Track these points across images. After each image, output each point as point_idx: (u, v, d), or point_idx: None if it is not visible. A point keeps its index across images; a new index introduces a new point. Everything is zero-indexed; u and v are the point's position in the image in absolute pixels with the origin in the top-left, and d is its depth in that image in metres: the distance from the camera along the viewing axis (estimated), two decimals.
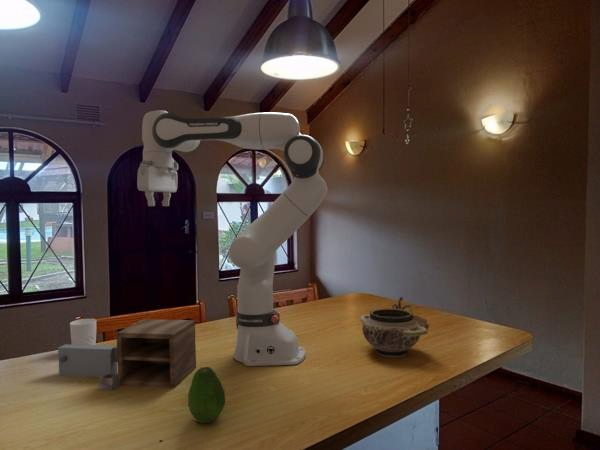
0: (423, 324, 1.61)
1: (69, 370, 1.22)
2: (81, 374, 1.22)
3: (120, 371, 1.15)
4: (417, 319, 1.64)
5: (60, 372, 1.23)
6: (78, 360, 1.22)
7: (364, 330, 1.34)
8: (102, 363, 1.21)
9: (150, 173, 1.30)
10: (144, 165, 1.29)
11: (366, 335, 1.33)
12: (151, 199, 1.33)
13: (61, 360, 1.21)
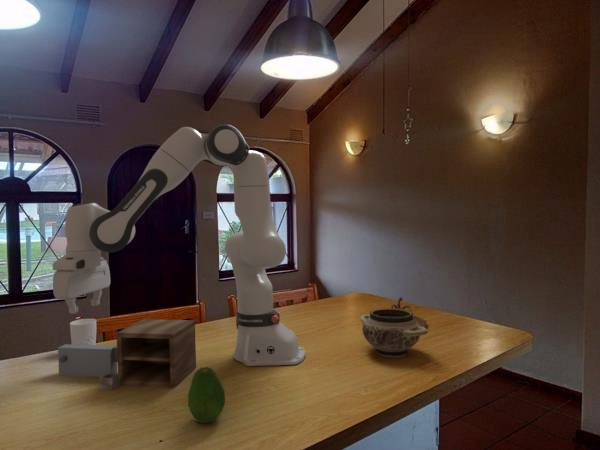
0: (422, 325, 1.60)
1: (69, 370, 1.22)
2: (81, 374, 1.22)
3: (120, 371, 1.15)
4: (416, 320, 1.64)
5: (60, 372, 1.23)
6: (78, 360, 1.22)
7: (364, 330, 1.34)
8: (102, 362, 1.21)
9: None
10: None
11: (366, 335, 1.33)
12: None
13: (61, 360, 1.21)
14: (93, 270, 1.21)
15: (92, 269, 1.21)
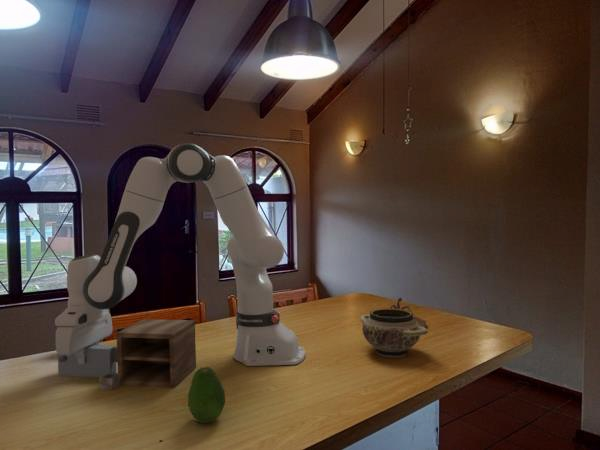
0: (422, 325, 1.60)
1: (68, 370, 1.22)
2: (80, 374, 1.22)
3: (120, 371, 1.15)
4: (416, 320, 1.63)
5: (59, 372, 1.23)
6: None
7: (364, 330, 1.34)
8: (102, 362, 1.21)
9: None
10: None
11: (366, 335, 1.33)
12: None
13: (60, 360, 1.21)
14: (95, 322, 1.22)
15: (94, 321, 1.21)
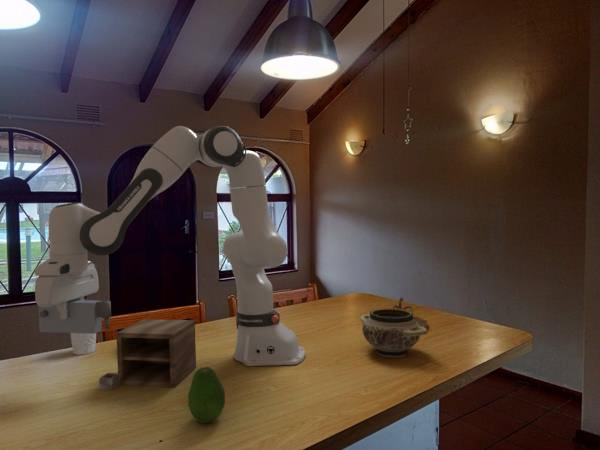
0: (424, 325, 1.60)
1: (50, 326, 1.14)
2: (63, 330, 1.13)
3: (120, 371, 1.15)
4: (418, 320, 1.63)
5: (41, 328, 1.14)
6: None
7: (364, 330, 1.34)
8: (86, 317, 1.12)
9: None
10: None
11: (366, 335, 1.33)
12: None
13: (41, 315, 1.13)
14: (79, 275, 1.13)
15: (78, 274, 1.13)
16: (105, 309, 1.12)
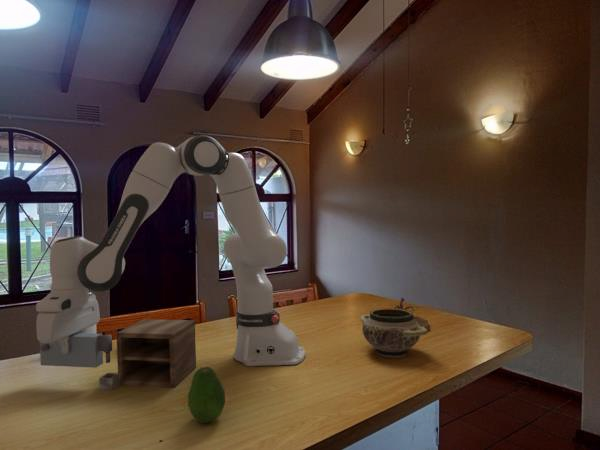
0: (426, 325, 1.60)
1: (51, 359, 1.14)
2: (64, 364, 1.14)
3: (120, 371, 1.15)
4: (419, 320, 1.63)
5: (42, 362, 1.15)
6: None
7: (364, 330, 1.34)
8: (87, 351, 1.13)
9: None
10: None
11: (366, 335, 1.33)
12: None
13: (43, 349, 1.13)
14: (80, 308, 1.14)
15: (79, 308, 1.13)
16: (106, 343, 1.12)
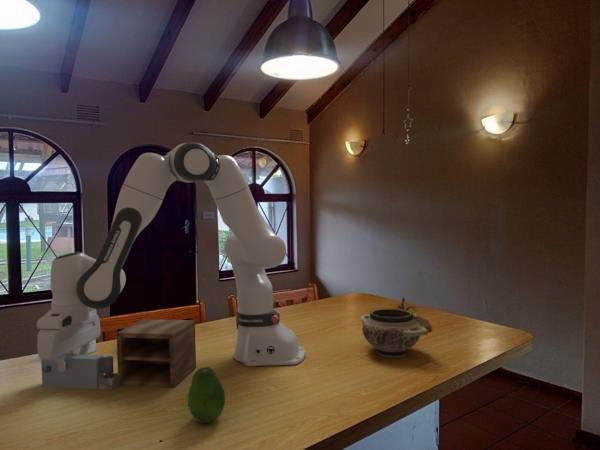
0: (428, 324, 1.60)
1: (53, 381, 1.15)
2: (65, 385, 1.14)
3: (120, 371, 1.15)
4: (420, 320, 1.63)
5: (43, 383, 1.15)
6: None
7: (364, 330, 1.34)
8: (88, 373, 1.13)
9: None
10: None
11: (366, 335, 1.33)
12: None
13: (44, 370, 1.13)
14: (81, 324, 1.14)
15: (80, 324, 1.14)
16: (107, 365, 1.12)
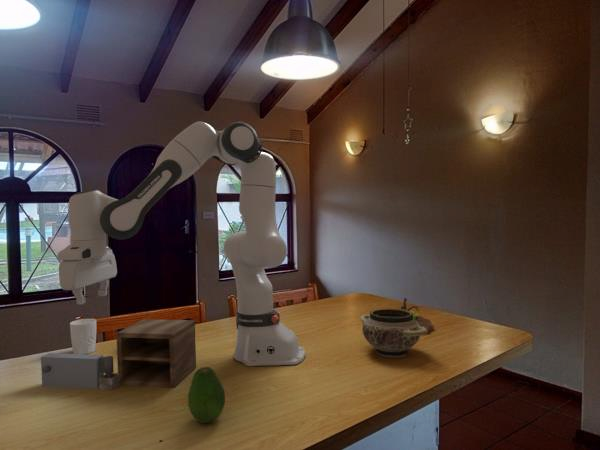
0: (430, 324, 1.61)
1: (53, 381, 1.15)
2: (65, 385, 1.14)
3: (120, 371, 1.15)
4: (423, 319, 1.64)
5: (43, 383, 1.15)
6: (63, 370, 1.14)
7: (364, 330, 1.34)
8: (88, 373, 1.13)
9: None
10: None
11: (366, 335, 1.33)
12: None
13: (44, 370, 1.14)
14: (99, 259, 1.18)
15: (98, 258, 1.17)
16: (107, 365, 1.13)
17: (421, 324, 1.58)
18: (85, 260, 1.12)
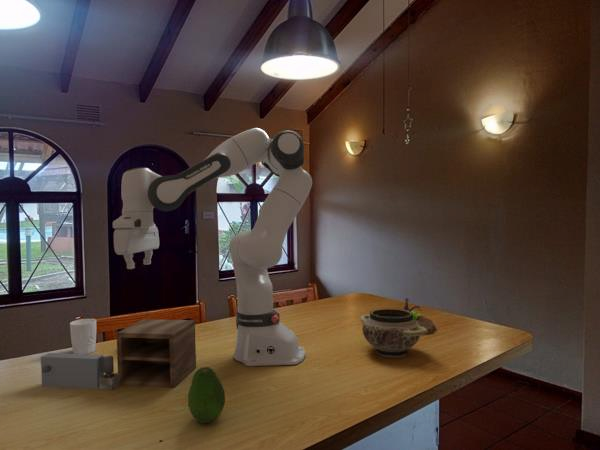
0: (433, 324, 1.61)
1: (53, 381, 1.15)
2: (65, 385, 1.14)
3: (120, 371, 1.15)
4: (424, 319, 1.64)
5: (43, 383, 1.15)
6: (62, 370, 1.14)
7: (364, 330, 1.34)
8: (88, 373, 1.13)
9: None
10: None
11: (366, 335, 1.33)
12: None
13: (44, 370, 1.14)
14: (147, 230, 1.31)
15: (146, 229, 1.30)
16: (108, 364, 1.13)
17: (424, 324, 1.58)
18: (136, 229, 1.26)
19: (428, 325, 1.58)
